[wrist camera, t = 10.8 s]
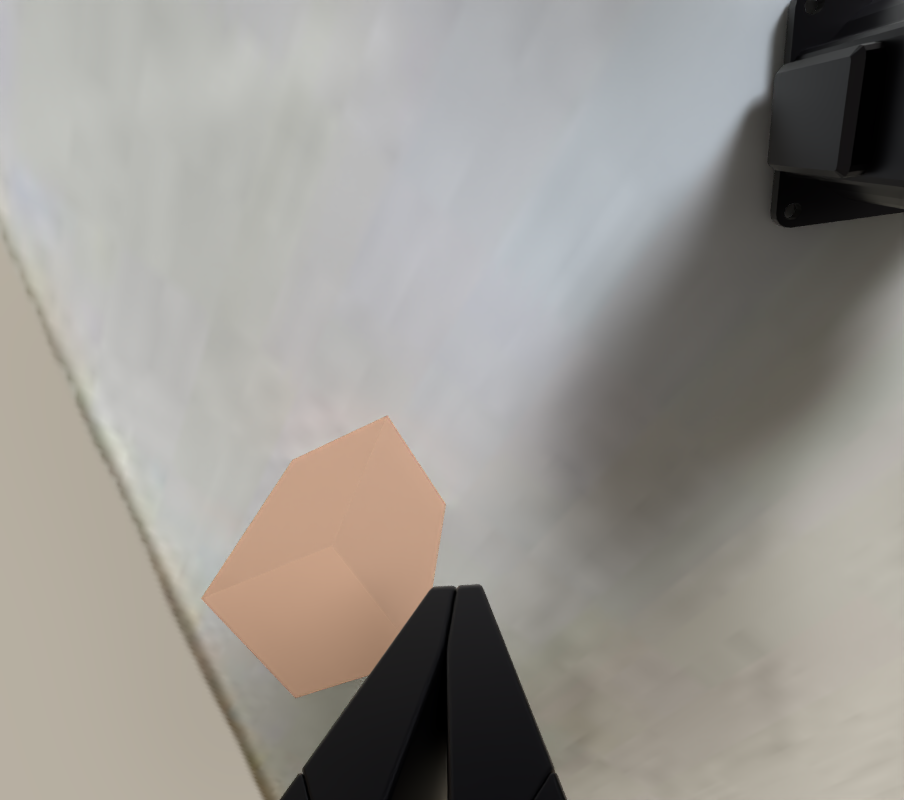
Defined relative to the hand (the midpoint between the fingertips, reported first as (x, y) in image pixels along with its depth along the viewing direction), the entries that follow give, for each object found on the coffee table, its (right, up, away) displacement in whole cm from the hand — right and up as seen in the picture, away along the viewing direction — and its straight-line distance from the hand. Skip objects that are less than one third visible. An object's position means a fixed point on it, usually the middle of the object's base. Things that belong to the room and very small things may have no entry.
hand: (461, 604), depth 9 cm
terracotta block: (-4, 0, +15) cm, 16 cm away
